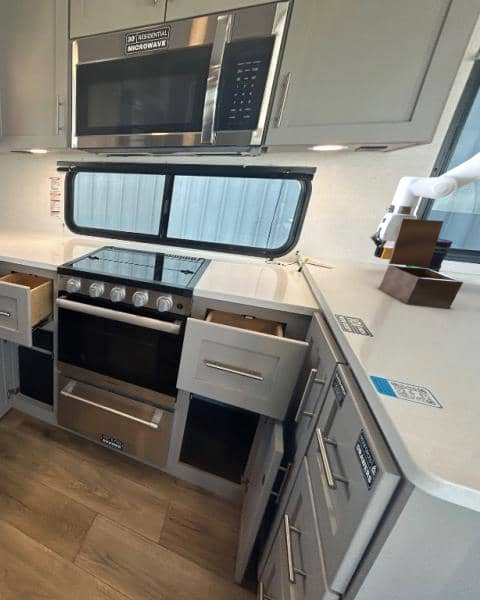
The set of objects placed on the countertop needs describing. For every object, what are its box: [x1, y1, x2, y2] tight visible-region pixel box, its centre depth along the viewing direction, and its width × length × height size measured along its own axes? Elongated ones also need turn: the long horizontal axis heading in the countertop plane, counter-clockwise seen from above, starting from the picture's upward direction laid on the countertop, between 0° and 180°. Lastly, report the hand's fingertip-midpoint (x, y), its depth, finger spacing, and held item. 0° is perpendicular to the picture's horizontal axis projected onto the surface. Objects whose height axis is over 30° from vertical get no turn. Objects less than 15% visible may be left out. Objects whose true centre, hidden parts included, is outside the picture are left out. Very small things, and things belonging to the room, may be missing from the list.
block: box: [379, 245, 394, 260], centre depth 131 cm, size 4×4×4 cm
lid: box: [388, 218, 444, 267], centre depth 111 cm, size 15×12×1 cm
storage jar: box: [405, 237, 454, 273], centre depth 132 cm, size 10×10×15 cm
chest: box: [378, 264, 464, 309], centre depth 108 cm, size 15×12×9 cm
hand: (384, 256), depth 132 cm, fingers closed on block, 4 cm apart
